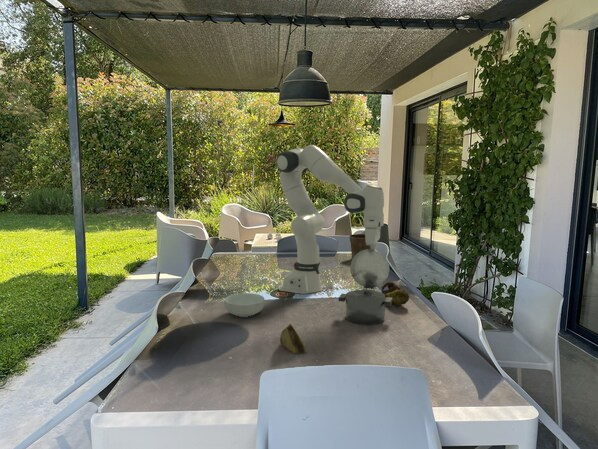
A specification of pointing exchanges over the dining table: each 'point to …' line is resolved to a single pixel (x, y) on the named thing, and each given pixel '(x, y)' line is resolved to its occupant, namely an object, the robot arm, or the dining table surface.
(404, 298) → the potato
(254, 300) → the cereal bowl
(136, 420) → the dining table surface
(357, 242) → the plant pot
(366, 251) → the lid
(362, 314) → the pot
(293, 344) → the rock
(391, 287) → the pottery mug
